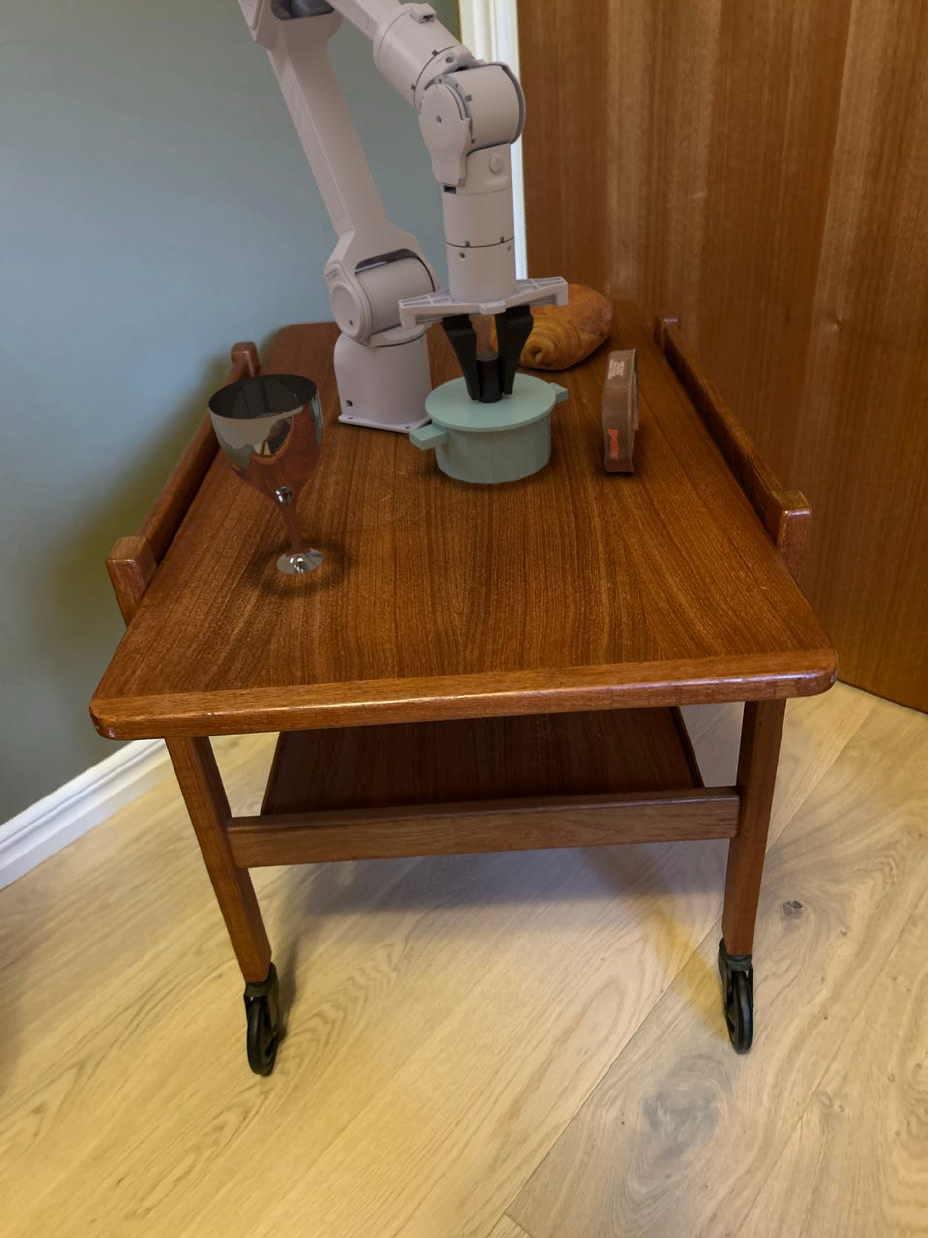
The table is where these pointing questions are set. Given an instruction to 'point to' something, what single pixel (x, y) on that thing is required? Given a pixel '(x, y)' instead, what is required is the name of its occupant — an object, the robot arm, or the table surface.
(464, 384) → the lid
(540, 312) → the croissant
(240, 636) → the table surface
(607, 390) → the tin
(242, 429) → the wine glass
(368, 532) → the table surface
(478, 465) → the pot
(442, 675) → the table surface
